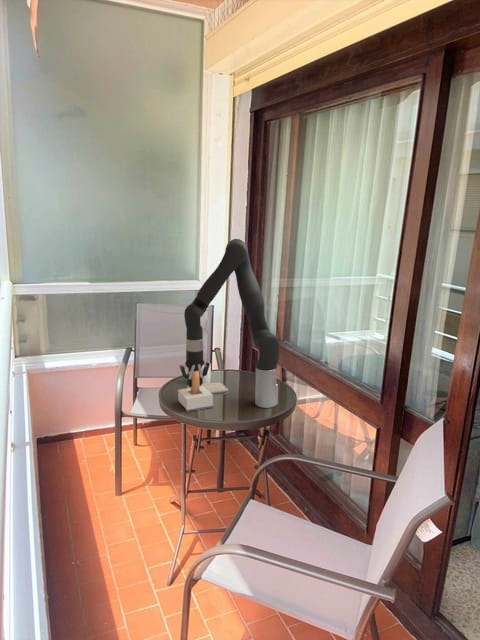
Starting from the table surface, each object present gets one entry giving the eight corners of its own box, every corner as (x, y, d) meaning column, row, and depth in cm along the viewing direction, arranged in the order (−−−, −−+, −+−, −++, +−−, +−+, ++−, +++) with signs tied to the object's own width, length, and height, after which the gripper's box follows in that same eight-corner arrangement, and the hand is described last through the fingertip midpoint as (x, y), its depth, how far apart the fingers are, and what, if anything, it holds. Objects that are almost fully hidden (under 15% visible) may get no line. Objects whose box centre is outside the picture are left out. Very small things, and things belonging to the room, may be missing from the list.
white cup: (193, 381, 246) (193, 362, 243) (208, 379, 248) (208, 361, 246) (198, 386, 238) (197, 367, 236) (213, 384, 241) (213, 365, 239)
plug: (197, 389, 217) (197, 368, 215) (200, 392, 213) (200, 371, 211) (189, 390, 215) (189, 369, 213) (192, 393, 212) (192, 372, 209)
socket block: (203, 398, 224) (203, 385, 222) (212, 407, 213) (212, 394, 212) (178, 402, 219) (178, 389, 217) (187, 412, 208) (186, 399, 207)
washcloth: (229, 394, 230) (229, 388, 229) (193, 399, 223) (193, 393, 222) (221, 386, 240) (221, 380, 240) (186, 390, 234) (186, 384, 233)
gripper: (206, 344, 216) (206, 381, 220) (176, 348, 210) (176, 385, 214) (213, 349, 210) (213, 386, 213) (181, 352, 204) (182, 391, 207)
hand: (194, 385), depth 214 cm, fingers closed on plug, 4 cm apart
